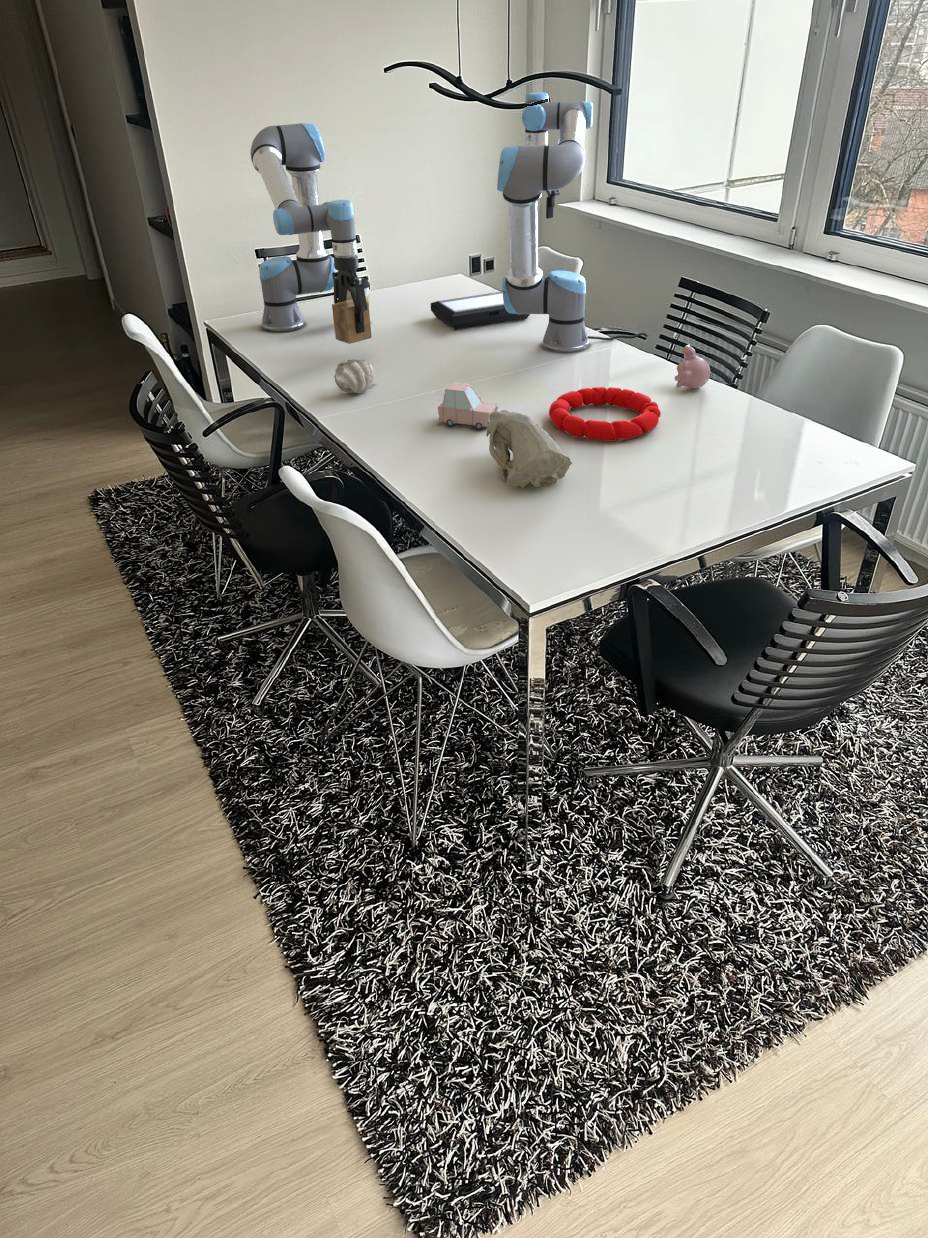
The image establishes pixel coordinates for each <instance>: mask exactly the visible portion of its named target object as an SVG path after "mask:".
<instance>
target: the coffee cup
mask: <svg viewBox="0 0 928 1238" xmlns="http://www.w3.org/2000/svg"><path fill="white" fill-rule="evenodd" d="M363 279H364V284H363V286H364V291H365V297H366V302H368V303H369V304H370V287H371V283H370V282H369V279H367V278H365V277H363ZM354 287H355V286H354ZM351 288H352V287H351ZM351 299H352V297H351V293H350V291H347V298H346V300H351Z"/></svg>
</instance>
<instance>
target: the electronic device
mask: <svg viewBox="0 0 928 1238" xmlns="http://www.w3.org/2000/svg"><path fill="white" fill-rule="evenodd" d="M430 311H431V313H432V314H433V315H434V317H435V318H436V319H437V320H439V322H442V323H444V324H445V325H447V326H448V327H450V328H451V329H453V331H457V330H463V329H471V328H476V327H483V326H489V325H496V324H501V323H507V322H515V321H521V320H526V319H528V318H529V317H530V315H531V314H520V315H519V314H512V313H509V312H507V311H506V309H505V306H504V302H503V291H496V292H489V293H483V294H477V295H468V296H463V297H456V298H450V299H443V300H436V301H433V302H430Z"/></svg>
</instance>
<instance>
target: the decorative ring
mask: <svg viewBox="0 0 928 1238" xmlns="http://www.w3.org/2000/svg"><path fill="white" fill-rule="evenodd" d="M583 405H584V406H586V407H587V406H591V405H593V406H604V405H608V406H614V407H619V408H624V409H628V410H632V411H635V412H636V413H638V414H639V415H637V416H635V417H632V418H631V419H630V420H625V419H624V420H623V419H622V420H614V421H611V422H609V421H607V420H606V421H605V420H593V419H587V420H586V421H585V419H584V418H582V417H579V416H577V415H573V414H571V413H570V410H571V409H579V408H581V407H582V406H583ZM548 416H549V419H550V422H551V423H552V425H553V426H554V427H555V428H556V429H558V430H559V431H561V432H563V433H567V434H568V435H569V436H573V437H576V438H580V439H582V438H583V437H585V438H586V439H587V440H591V441H601V442H602V441H603V442H608V441H609V442H610V441H611V442H612V441H615V442H616V441H618V440H630V439H634V438H638V437H641V436H642V434H647V433H650V432H651V431H653V430H654V429H655V428H656V427H657V426H658V424H659V422H660V421H659V420H660V417H661V410H660V408H659V405H658V403H657V402H656V401H652V399H651V397H649V396H648V395H646V394H644V393H642V392H635V391H634V390H632V389H628V388H624V389H622V388H620V387H613V386H612V387H611V386H610V387H608V388H606V387H604V386H594V387H585V388H584V387H583V388H580V389H578V390H571V391H568V392H565V393H563V394H561V395H560V396H558V397H557V398H556V400H554V401H552V403H551V404H550V407H549V409H548Z"/></svg>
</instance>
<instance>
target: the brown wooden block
mask: <svg viewBox="0 0 928 1238" xmlns="http://www.w3.org/2000/svg"><path fill="white" fill-rule="evenodd" d="M367 308H368V309H367V310H366V311H364V312H363V314H364V329H365V332H362V333H356V323H355V311H356V309H355V306H354V303H353V300H352V299H351V300H346V301H342V302H338V303H334V302H333V303H331V310H332V319H333V326H334V327H333V328H334V336H335V337H334V338H335V340H337V341H339V342H342V343H345V344H348V345H351V344H354V343H359V342H361V341H365V340H369V339H372V338H373V337H372V326H371V314H370V302H369V303H368V302H367Z"/></svg>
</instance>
